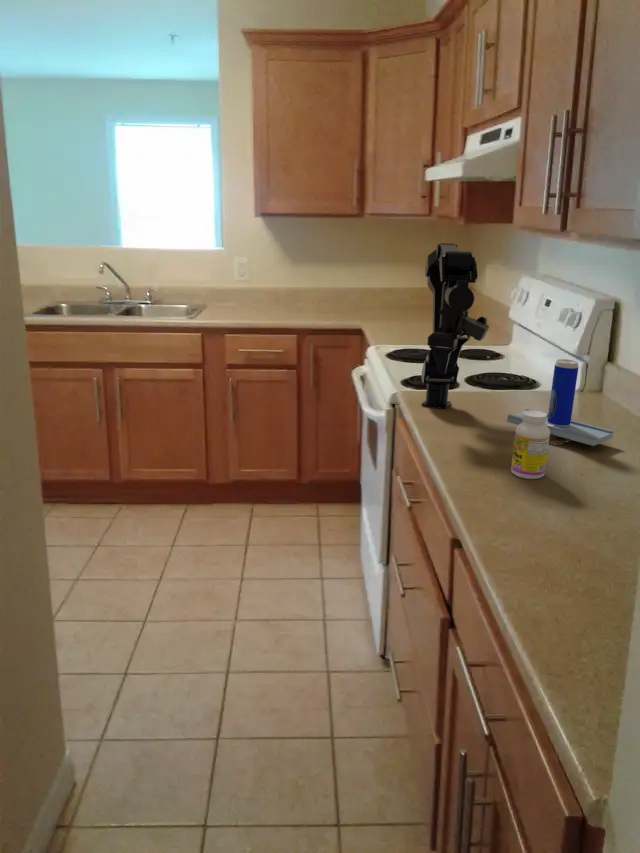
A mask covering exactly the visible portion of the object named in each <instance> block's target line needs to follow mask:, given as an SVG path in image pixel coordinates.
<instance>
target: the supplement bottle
mask: <svg viewBox="0 0 640 853" xmlns="http://www.w3.org/2000/svg"><path fill="white" fill-rule="evenodd" d="M522 412H523V414H522V420H523V423H520V424H519V425H517V426H516V427H515V433H514V442H513V449H512V456H511V457H512V458H511V468H510V471H511V472H512V474H513V475H514V476H516V477H519V478H521V479H525V480H537V479H541V478H543V477H544V476H545V474H546V468H547V460H548V451H549V445H550V444H549V437H550V430H549V428H548V427H547V426H546V425H545V422H546V421H547V414H548V413H547V414H546V412H544V411H541V410H535V411H534V409H531V410H529V411H526V410H524V411H522Z"/></svg>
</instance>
